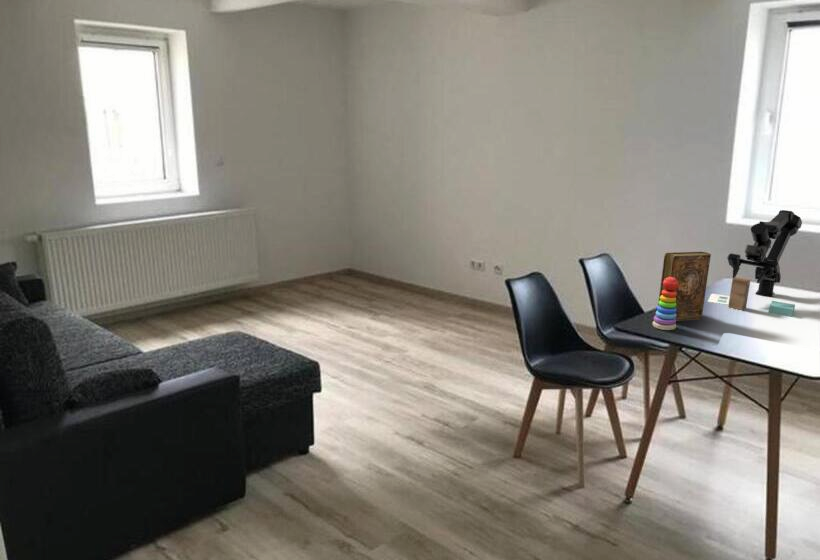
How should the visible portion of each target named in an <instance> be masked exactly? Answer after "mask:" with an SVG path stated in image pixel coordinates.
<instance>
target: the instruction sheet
mask: <svg viewBox="0 0 820 560" xmlns="http://www.w3.org/2000/svg"><path fill="white" fill-rule="evenodd" d="M729 299H730V295H724V294H717V293H711V294H710V296H709V298H708V300H707V303H712V302H713V304H719V303H720V304H719V305H725V304H727V305H726V306H728V305H729Z"/></svg>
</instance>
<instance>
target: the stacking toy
mask: <svg viewBox="0 0 820 560" xmlns="http://www.w3.org/2000/svg"><path fill="white" fill-rule="evenodd" d="M663 287H664V290H662V295H661V296H660V301H659V300H658V302H659V306H658V305H657V308H656V311H655V315H654V317H653V321H652V326H653V327H654V328H656V329H659V330H662V331H673V330H675V329H676V328H677V324H676V322H677V321H676V319H675V318H676V313H675V312H676V308H675V307H676V305H677V304H676V302H675V301H676V297H675V296H676V295H677V292H676V291H674V290H675V289H676V288H677V287H678V281H677V280H676V279H675V278H673V277H668V278H666V279H665V280H664V281H663ZM657 310H658V311H657Z"/></svg>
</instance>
